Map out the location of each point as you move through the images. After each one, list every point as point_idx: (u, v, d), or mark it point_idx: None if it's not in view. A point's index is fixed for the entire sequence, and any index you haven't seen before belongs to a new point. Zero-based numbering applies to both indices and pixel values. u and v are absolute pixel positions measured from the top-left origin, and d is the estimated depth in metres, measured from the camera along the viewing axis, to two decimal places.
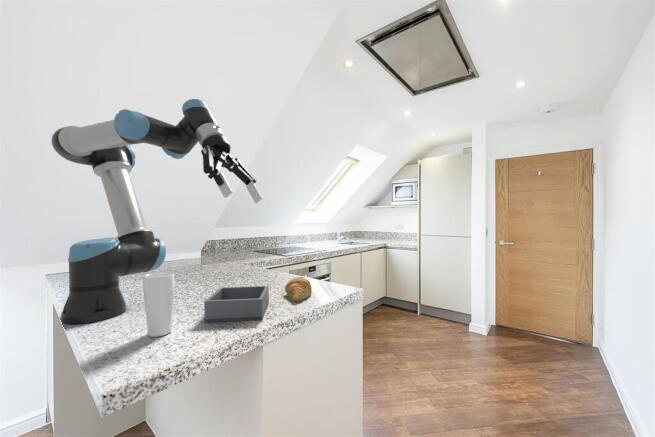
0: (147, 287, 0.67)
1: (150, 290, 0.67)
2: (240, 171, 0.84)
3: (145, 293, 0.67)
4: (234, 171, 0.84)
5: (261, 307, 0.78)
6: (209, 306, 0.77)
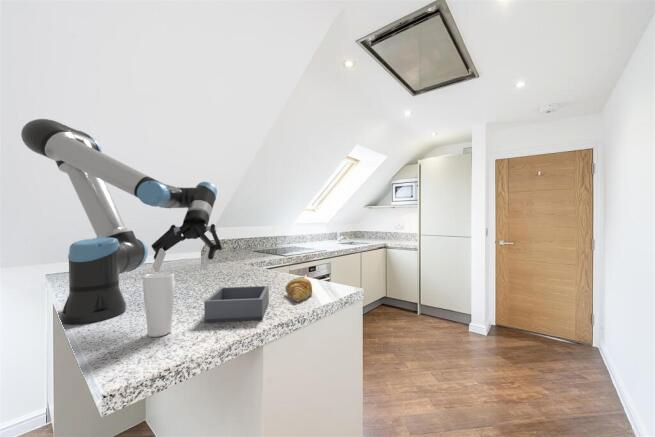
0: (147, 287, 0.67)
1: (150, 290, 0.67)
2: (176, 242, 0.87)
3: (145, 293, 0.67)
4: (178, 237, 0.86)
5: (261, 307, 0.78)
6: (209, 306, 0.77)
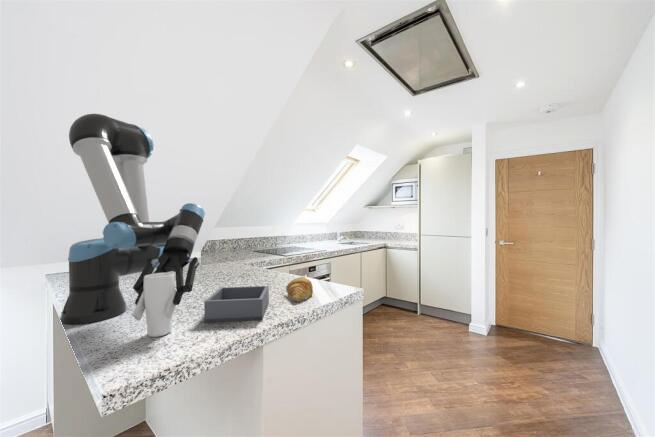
0: (147, 287, 0.67)
1: (150, 290, 0.66)
2: None
3: (145, 293, 0.67)
4: (160, 272, 0.74)
5: (261, 307, 0.78)
6: (209, 306, 0.77)
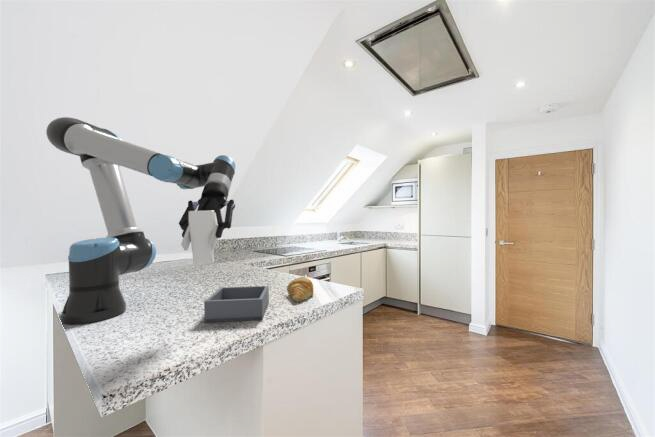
0: (192, 219, 0.73)
1: (195, 222, 0.73)
2: None
3: (191, 225, 0.73)
4: None
5: (261, 307, 0.78)
6: (209, 306, 0.77)
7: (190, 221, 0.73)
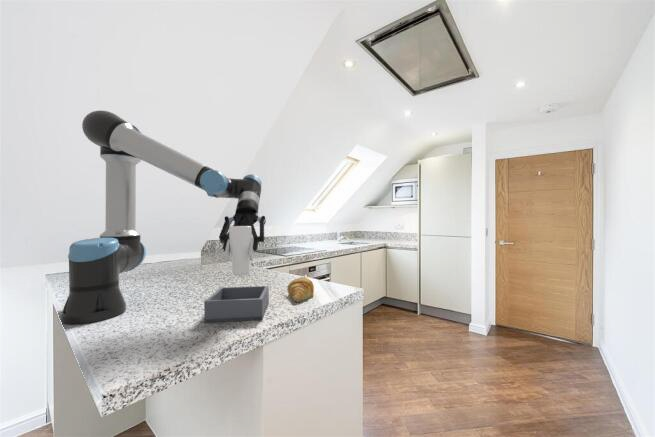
0: (234, 234, 0.82)
1: (236, 236, 0.82)
2: None
3: (232, 239, 0.83)
4: None
5: (261, 307, 0.78)
6: (209, 306, 0.77)
7: (231, 235, 0.83)
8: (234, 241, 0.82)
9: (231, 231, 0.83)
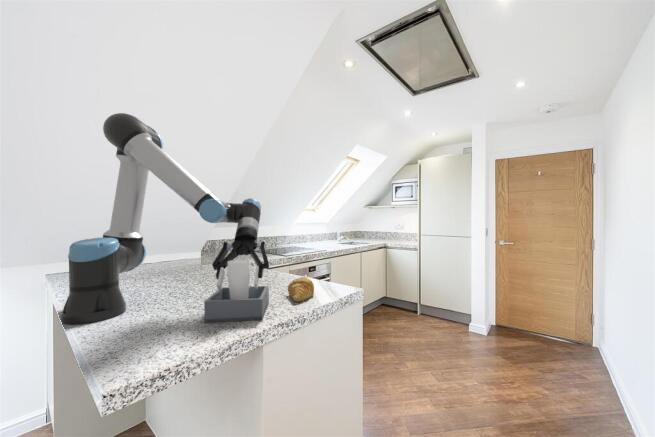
0: (232, 270, 0.82)
1: (235, 272, 0.82)
2: (232, 259, 0.90)
3: (230, 275, 0.82)
4: (233, 254, 0.90)
5: (261, 307, 0.78)
6: (209, 306, 0.77)
7: (230, 271, 0.83)
8: (232, 277, 0.82)
9: (229, 267, 0.83)
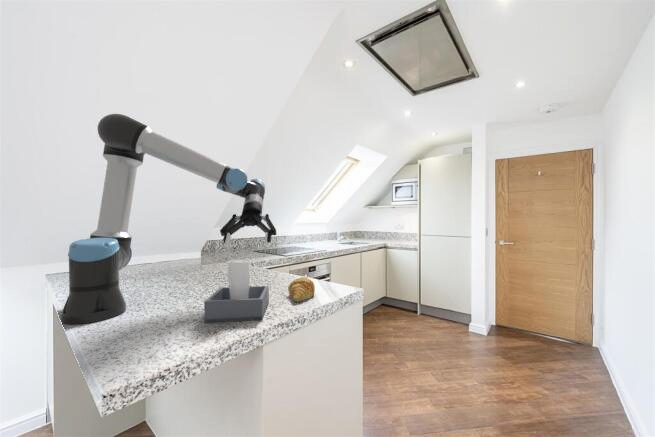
0: (232, 270, 0.82)
1: (235, 273, 0.82)
2: (238, 228, 1.03)
3: (230, 275, 0.82)
4: (240, 224, 1.03)
5: (261, 307, 0.78)
6: (209, 306, 0.77)
7: (230, 271, 0.83)
8: (233, 277, 0.82)
9: (230, 267, 0.83)
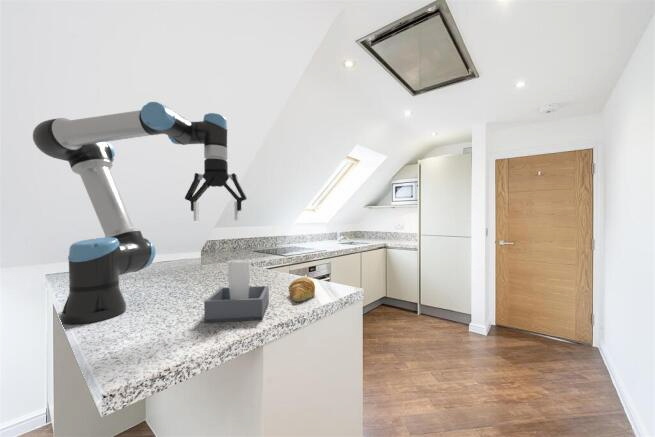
0: (232, 270, 0.82)
1: (235, 272, 0.82)
2: (204, 191, 0.96)
3: (230, 275, 0.83)
4: (205, 188, 0.95)
5: (261, 307, 0.78)
6: (209, 306, 0.77)
7: (230, 271, 0.83)
8: (233, 277, 0.82)
9: (230, 267, 0.83)
